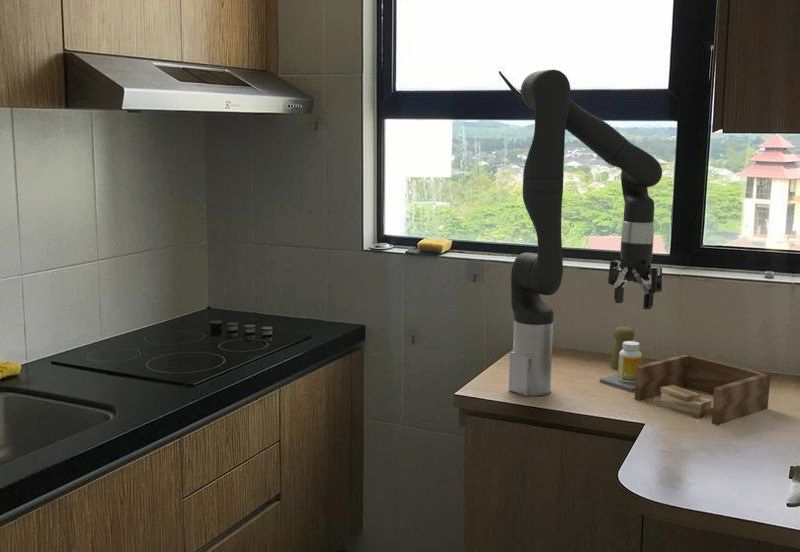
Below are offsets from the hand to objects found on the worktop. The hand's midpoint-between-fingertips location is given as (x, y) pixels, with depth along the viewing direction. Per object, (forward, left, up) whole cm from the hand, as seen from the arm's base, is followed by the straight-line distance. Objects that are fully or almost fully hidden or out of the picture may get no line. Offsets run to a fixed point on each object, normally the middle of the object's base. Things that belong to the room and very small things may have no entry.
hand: (633, 306), depth 216 cm
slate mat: (0, 0, -20) cm, 20 cm away
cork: (+10, +10, -20) cm, 25 cm away
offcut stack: (-6, -20, -20) cm, 29 cm away
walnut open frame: (0, -20, -20) cm, 28 cm away
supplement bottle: (0, 0, -19) cm, 19 cm away
